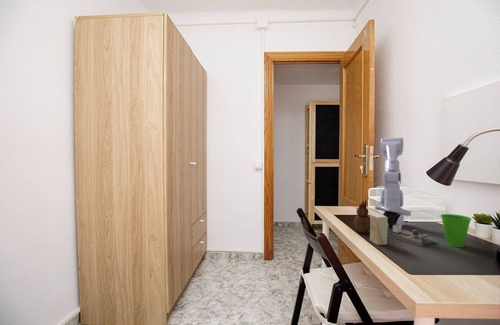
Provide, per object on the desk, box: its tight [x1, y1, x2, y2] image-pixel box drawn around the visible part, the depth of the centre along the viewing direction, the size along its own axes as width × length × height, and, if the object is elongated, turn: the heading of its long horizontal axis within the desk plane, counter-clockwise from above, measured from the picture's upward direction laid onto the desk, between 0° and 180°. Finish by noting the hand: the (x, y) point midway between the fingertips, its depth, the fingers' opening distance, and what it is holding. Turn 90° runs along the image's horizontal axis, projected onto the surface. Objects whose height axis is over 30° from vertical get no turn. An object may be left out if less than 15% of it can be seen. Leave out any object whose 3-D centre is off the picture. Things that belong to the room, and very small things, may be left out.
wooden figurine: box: [353, 198, 370, 234], centre depth 107 cm, size 7×6×15 cm
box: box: [369, 213, 388, 246], centre depth 93 cm, size 5×4×11 cm
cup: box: [439, 213, 472, 248], centre depth 90 cm, size 9×9×11 cm
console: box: [387, 225, 436, 247], centre depth 99 cm, size 10×19×4 cm, turn 28°
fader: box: [393, 224, 402, 233], centre depth 101 cm, size 3×2×3 cm
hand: (391, 228), depth 103 cm, fingers closed
